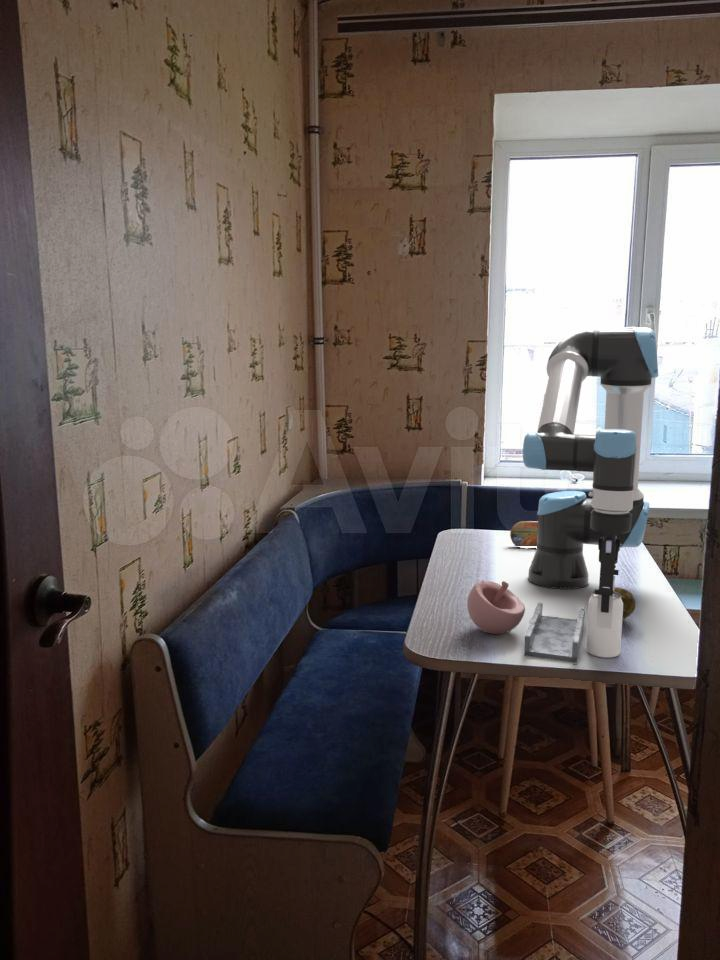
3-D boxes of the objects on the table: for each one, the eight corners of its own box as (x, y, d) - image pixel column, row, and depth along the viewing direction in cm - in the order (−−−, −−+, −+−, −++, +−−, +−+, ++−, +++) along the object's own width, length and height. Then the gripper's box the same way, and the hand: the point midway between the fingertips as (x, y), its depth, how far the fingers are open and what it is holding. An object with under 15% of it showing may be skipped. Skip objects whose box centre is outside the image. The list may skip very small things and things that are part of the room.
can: (619, 660, 147) (622, 601, 145) (584, 656, 150) (587, 597, 148) (621, 649, 153) (624, 591, 151) (587, 644, 156) (590, 587, 154)
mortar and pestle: (513, 646, 154) (515, 591, 152) (458, 635, 160) (459, 583, 158) (531, 628, 165) (533, 576, 163) (478, 619, 170) (479, 569, 169)
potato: (623, 610, 177) (625, 576, 175) (638, 630, 164) (640, 594, 163) (586, 609, 177) (588, 575, 176) (598, 628, 165) (600, 592, 163)
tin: (510, 548, 232) (511, 521, 231) (508, 546, 235) (509, 519, 234) (560, 549, 232) (561, 522, 230) (558, 547, 235) (559, 520, 233)
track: (537, 619, 170) (538, 602, 170) (584, 624, 167) (585, 607, 166) (524, 655, 150) (524, 636, 149) (576, 662, 146) (577, 642, 146)
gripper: (594, 498, 160) (588, 596, 163) (587, 520, 136) (580, 634, 139) (632, 501, 157) (625, 600, 160) (631, 524, 134) (624, 640, 137)
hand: (605, 616), depth 150 cm, fingers open, 13 cm apart
